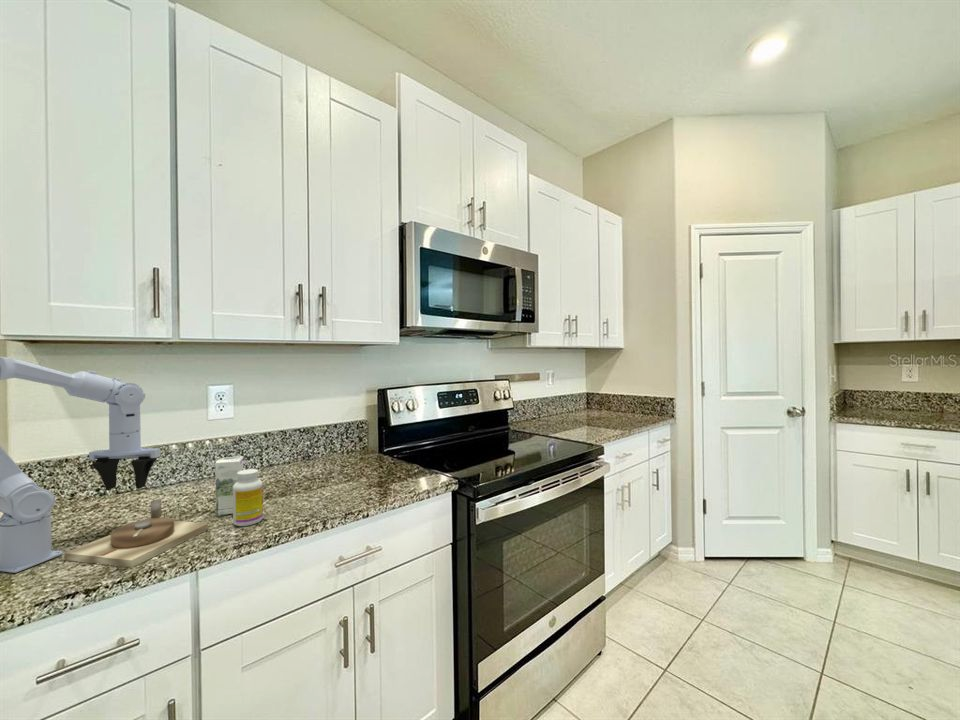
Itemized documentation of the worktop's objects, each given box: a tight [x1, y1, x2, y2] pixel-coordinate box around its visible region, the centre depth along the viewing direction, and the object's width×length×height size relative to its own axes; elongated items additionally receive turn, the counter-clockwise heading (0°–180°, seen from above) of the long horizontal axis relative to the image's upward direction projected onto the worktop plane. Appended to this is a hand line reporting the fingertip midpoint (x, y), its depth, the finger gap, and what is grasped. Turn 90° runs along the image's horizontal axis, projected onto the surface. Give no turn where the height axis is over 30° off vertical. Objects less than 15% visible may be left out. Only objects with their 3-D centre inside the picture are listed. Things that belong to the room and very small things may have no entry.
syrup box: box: [214, 455, 244, 517], centre depth 110 cm, size 6×6×14 cm
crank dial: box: [110, 499, 175, 548], centre depth 93 cm, size 15×11×5 cm
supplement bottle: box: [232, 468, 264, 527], centre depth 103 cm, size 7×7×13 cm
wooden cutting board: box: [63, 520, 209, 569], centre depth 91 cm, size 17×18×2 cm
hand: (125, 488), depth 98 cm, fingers open, 6 cm apart
